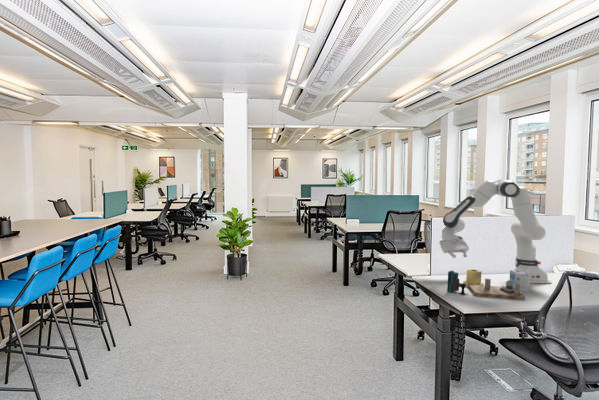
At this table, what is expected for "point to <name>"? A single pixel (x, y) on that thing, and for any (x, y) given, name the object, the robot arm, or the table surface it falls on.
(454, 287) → the surveillance camera
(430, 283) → the table surface
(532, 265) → the robot arm
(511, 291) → the gear
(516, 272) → the light bulb box
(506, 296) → the walnut board
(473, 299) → the table surface
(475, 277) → the yellow flanged housing
